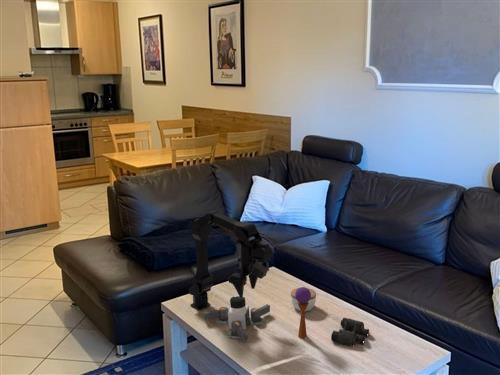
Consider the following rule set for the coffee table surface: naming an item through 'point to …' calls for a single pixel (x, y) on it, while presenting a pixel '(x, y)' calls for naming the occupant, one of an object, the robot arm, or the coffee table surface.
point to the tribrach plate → (238, 335)
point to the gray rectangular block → (238, 330)
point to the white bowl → (311, 301)
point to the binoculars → (350, 332)
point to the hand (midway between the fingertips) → (247, 292)
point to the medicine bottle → (239, 311)
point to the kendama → (302, 308)
